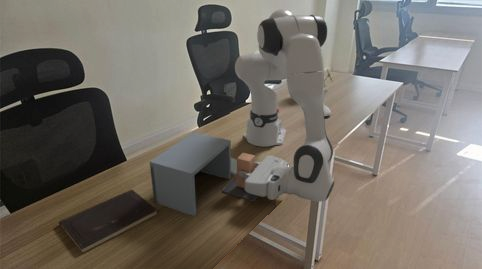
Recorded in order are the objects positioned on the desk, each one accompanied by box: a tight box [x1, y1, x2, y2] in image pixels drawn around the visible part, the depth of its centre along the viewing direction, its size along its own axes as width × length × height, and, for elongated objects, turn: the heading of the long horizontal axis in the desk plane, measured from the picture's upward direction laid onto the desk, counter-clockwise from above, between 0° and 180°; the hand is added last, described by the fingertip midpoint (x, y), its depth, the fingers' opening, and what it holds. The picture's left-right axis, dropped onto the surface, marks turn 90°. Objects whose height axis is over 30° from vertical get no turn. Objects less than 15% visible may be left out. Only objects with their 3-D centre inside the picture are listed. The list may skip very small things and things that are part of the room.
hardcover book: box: [58, 189, 159, 253], centre depth 98 cm, size 16×23×2 cm
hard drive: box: [231, 156, 237, 177], centre depth 128 cm, size 2×8×12 cm
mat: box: [221, 175, 259, 202], centre depth 115 cm, size 12×12×1 cm
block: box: [236, 152, 256, 188], centre depth 112 cm, size 4×4×11 cm
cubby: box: [149, 131, 232, 217], centre depth 110 cm, size 24×15×15 cm, turn 154°
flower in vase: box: [323, 68, 334, 117], centre depth 175 cm, size 13×11×25 cm
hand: (243, 168), depth 112 cm, fingers open, 5 cm apart
